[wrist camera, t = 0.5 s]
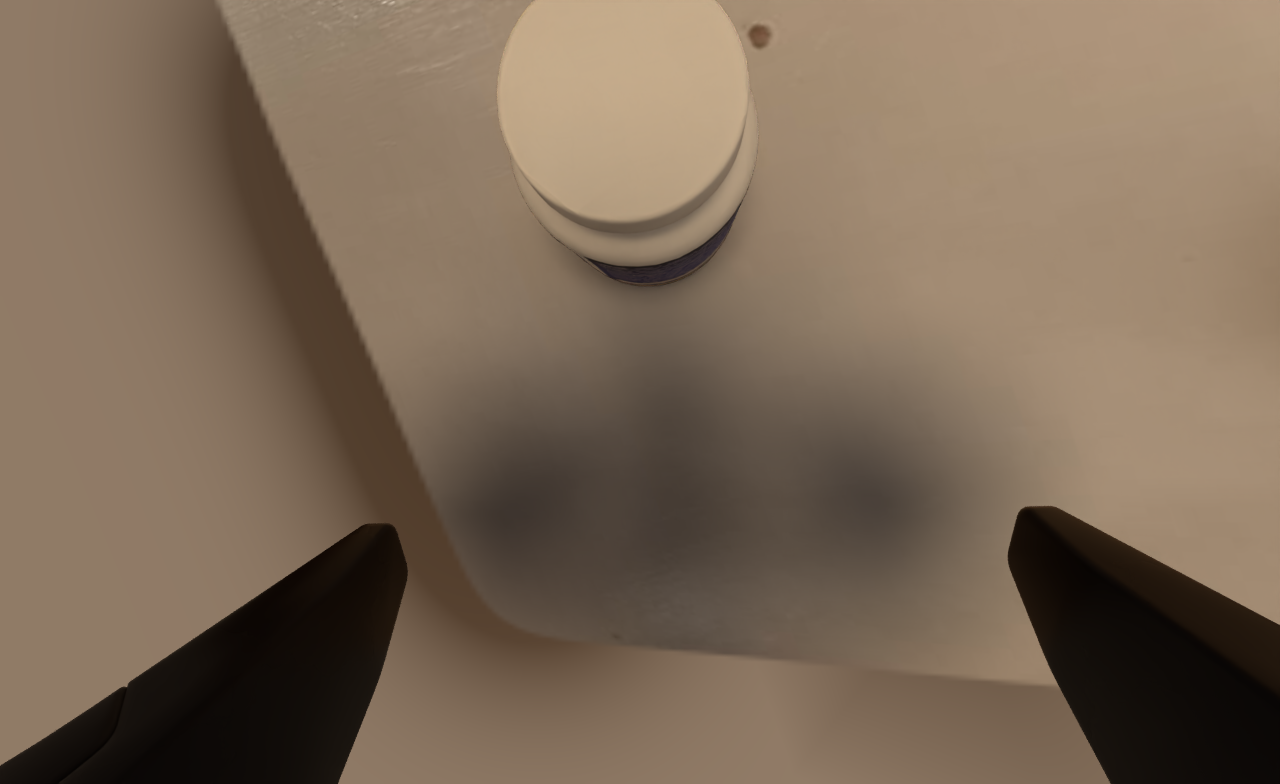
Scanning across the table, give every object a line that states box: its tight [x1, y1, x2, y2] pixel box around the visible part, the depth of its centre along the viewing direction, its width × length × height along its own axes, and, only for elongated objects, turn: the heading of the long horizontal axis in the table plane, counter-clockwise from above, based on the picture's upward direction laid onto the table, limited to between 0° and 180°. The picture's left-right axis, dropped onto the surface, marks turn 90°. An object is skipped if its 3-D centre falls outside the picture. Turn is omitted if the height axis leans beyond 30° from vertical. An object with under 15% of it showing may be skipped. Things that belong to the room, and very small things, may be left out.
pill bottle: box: [497, 0, 759, 286], centre depth 17 cm, size 6×6×10 cm
